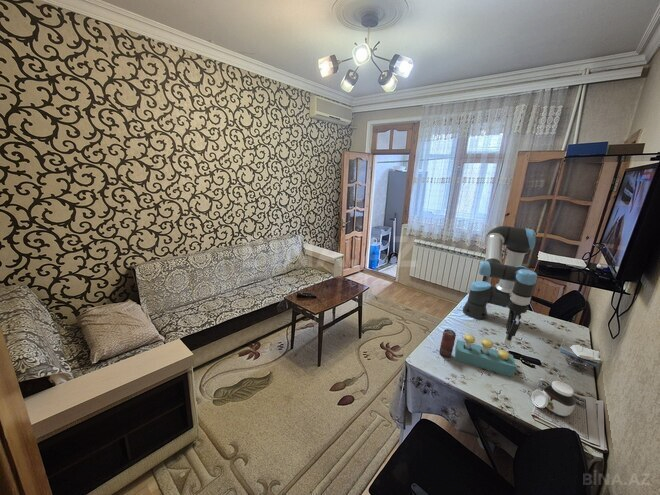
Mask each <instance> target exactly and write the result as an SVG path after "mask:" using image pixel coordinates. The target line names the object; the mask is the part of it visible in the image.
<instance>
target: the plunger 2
mask: <svg viewBox="0 0 660 495" xmlns="http://www.w3.org/2000/svg"><path fill="white" fill-rule="evenodd" d="M497 351H498V356H499V359H502V360H505V361H506V360H508V359H509V356H510V354H511V353H509V352H508V351H507V350H504V349H499V350H497Z"/></svg>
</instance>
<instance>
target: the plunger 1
mask: <svg viewBox="0 0 660 495" xmlns="http://www.w3.org/2000/svg"><path fill="white" fill-rule="evenodd" d="M464 342H466V343H465V347H464V349H467V350H470V349H471V345H472V344H475V342H476V337H475V336H474V335H472V334H469V333H467V334H464Z"/></svg>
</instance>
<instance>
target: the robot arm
mask: <svg viewBox="0 0 660 495" xmlns="http://www.w3.org/2000/svg"><path fill="white" fill-rule="evenodd" d="M485 243H486V246H485V249H486V250H485V254H484V255H485V257H484V260H482V261H480V265H479V268H478V269H479V270H478V274H479V275H480V276H484V277H488V278H493V279H498V280H499V282H498V283H496V284H495V286H493V285H492V284H491V283H490V282H487V281H485V280H484V281H483V280H477V281H476V280H475V281H472V283H471V285H470V288H469V294H468V296H467V300H466V302H465V303H464V305H463V306H462V312H463V314H465V315H466V316H467V315H468V316H467V317H470V316H471V317H470V318H472V317H473V319H476V318H477V320H484V319H487V317H488V309H487V305H488V304H491V305H493V306H499V307H501V308H507V309H509V310H508V316H507V321H506V326H505V327H506V329H505V330H506V331H505V334H504V338H503V341H502V343H503V345H505V346H509V347H510V346H511V345H512V341H513V337H515V336H516V334H517V332H518V329H519V327H520V326H521V324H522V322H521V321H520V320H521V318H522V314H525V313H527V311H528V308H529V305H530V303H531V300H532V295H533V293H534V292H533V291H534V289H535V285H536V283H537V279H538V274H537V272H535V271H533V270H530V269H529V268H528V267H526V266H525V265H522V264H523V261H524V258H525V255H526V254H528V253H530V251H531V250H534V248H535V245H536V244H535V243H536V231H535V230H534V229H531V228H525V227H519V226H517V227H516V226H510V225H509V226H508V225H500V226H499V225H498V226H496V227H494V228H491V230H489V231H488V232H487V234H486V236H485ZM503 246H505V249H506V250H507V254H506V257H505V261H504V264H503V263H502V259H503V258H502V257H503V256H502V254H503Z"/></svg>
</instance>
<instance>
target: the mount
mask: <svg viewBox="0 0 660 495" xmlns="http://www.w3.org/2000/svg"><path fill="white" fill-rule="evenodd" d="M465 343H466V341H465V340H464V341H463V340H460V339H456V344H455V349H454V360H455V361H459V362H461V363H464V364H468V365H470V366H474V367H478V368H481V369H484V370H488V371H490V372H493V373H497V374H500V375H504V376H506V377H507V376H508V377H511V378H514V376H515V373H516V370H517V365H516V361H515V357H514V355H513V354H511V353H509V354H510V356H509V359H508V360H506V361H505V360H502V359H499V356H498V351H499V350H496V349H493V348H489V351H488V355H484V354H481V352H482V349H483V345H478V344H475V343H472V345H471V349H470V350H467V349H464V347H465Z"/></svg>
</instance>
